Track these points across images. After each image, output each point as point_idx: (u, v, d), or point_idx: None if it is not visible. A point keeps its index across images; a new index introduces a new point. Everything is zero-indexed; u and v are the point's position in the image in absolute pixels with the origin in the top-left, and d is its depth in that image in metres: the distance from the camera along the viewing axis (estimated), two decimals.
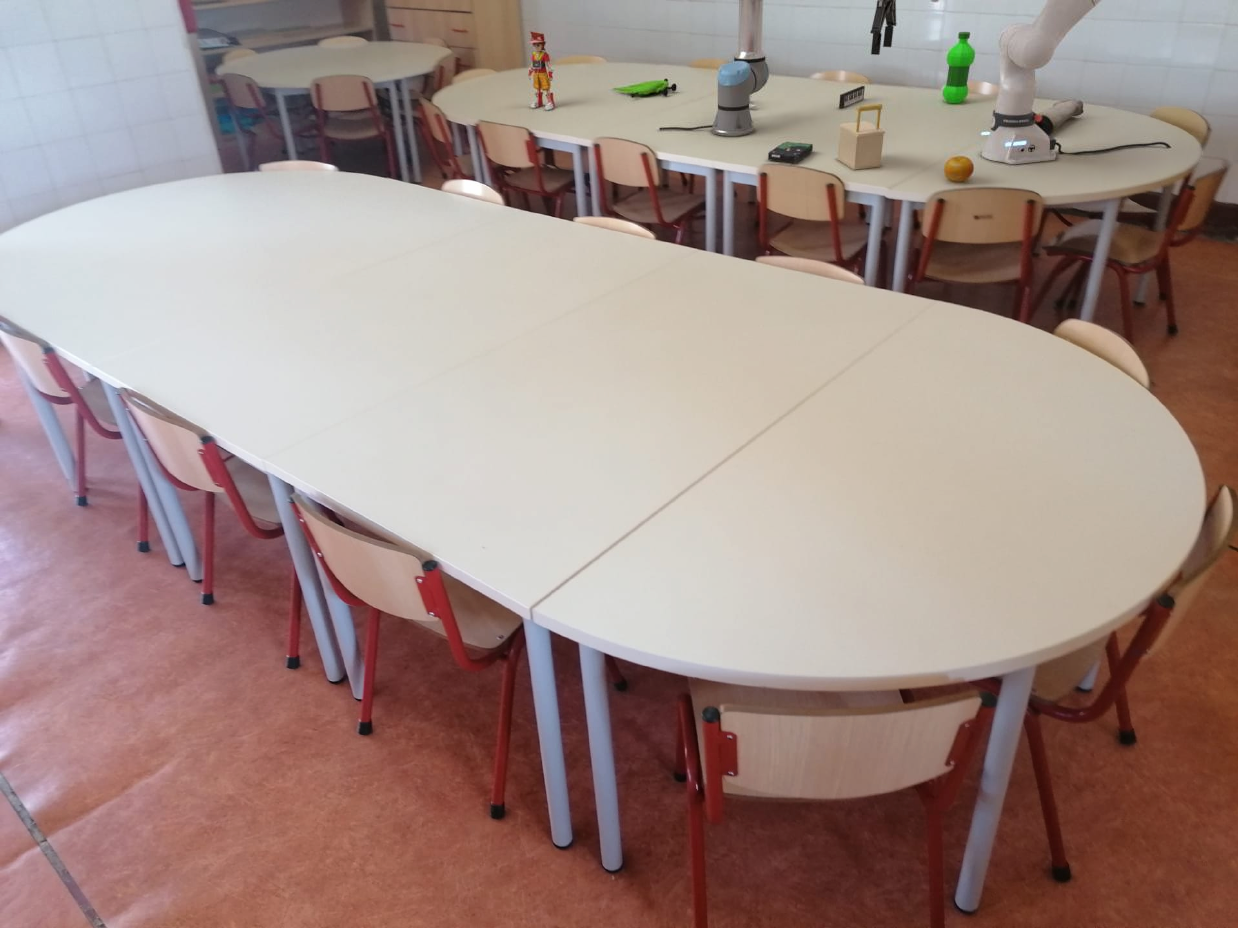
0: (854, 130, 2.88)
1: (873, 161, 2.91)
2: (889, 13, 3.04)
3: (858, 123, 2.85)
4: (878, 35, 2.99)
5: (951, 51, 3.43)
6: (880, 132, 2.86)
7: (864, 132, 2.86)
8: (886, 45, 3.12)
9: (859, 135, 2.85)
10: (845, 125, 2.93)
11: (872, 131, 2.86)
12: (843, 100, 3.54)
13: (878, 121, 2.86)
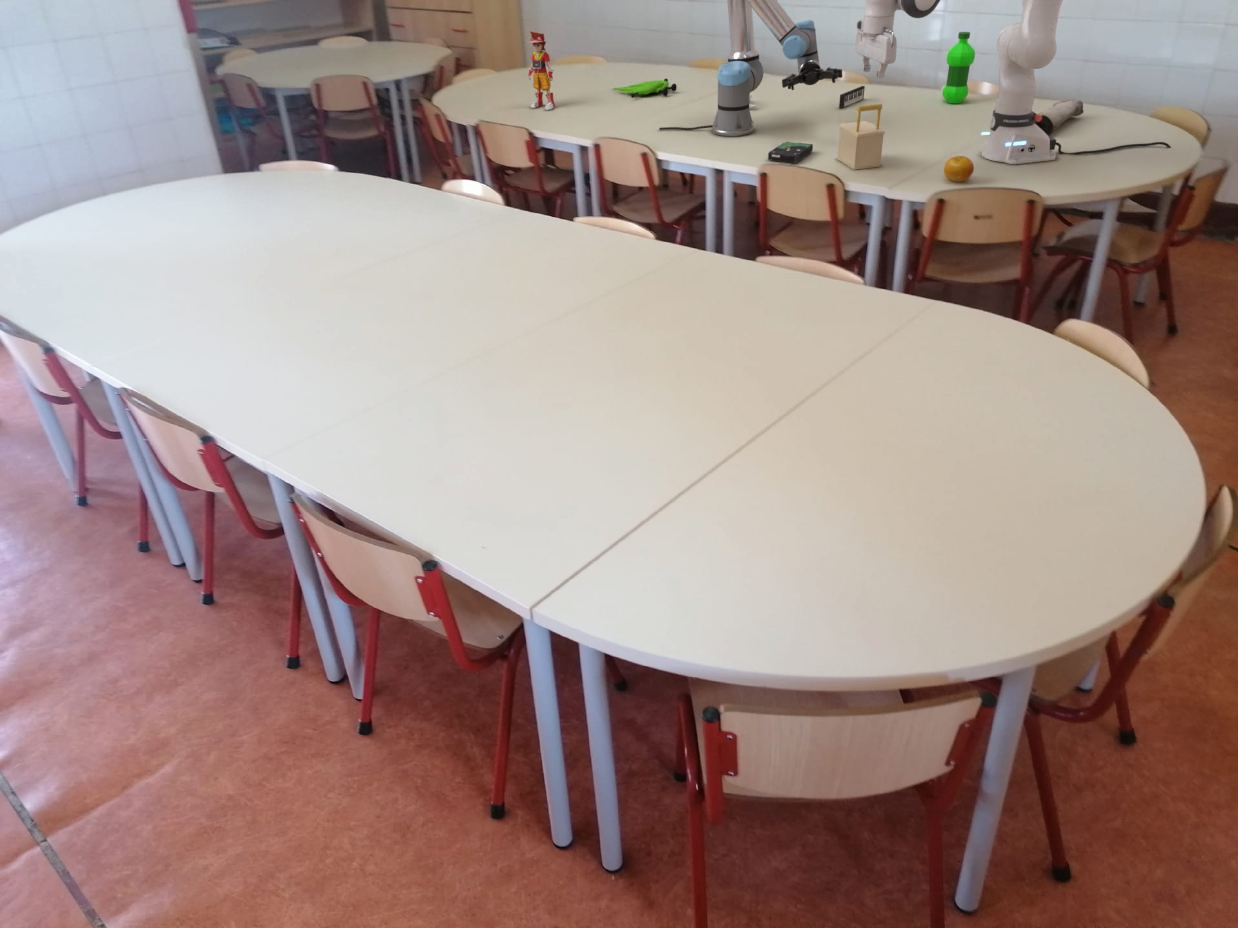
0: (854, 130, 2.88)
1: (873, 161, 2.91)
2: (800, 80, 3.11)
3: (858, 123, 2.85)
4: None
5: (951, 51, 3.43)
6: (880, 132, 2.86)
7: (864, 132, 2.86)
8: (793, 84, 3.02)
9: (859, 135, 2.85)
10: (845, 125, 2.93)
11: (872, 131, 2.86)
12: (843, 100, 3.54)
13: (878, 121, 2.86)
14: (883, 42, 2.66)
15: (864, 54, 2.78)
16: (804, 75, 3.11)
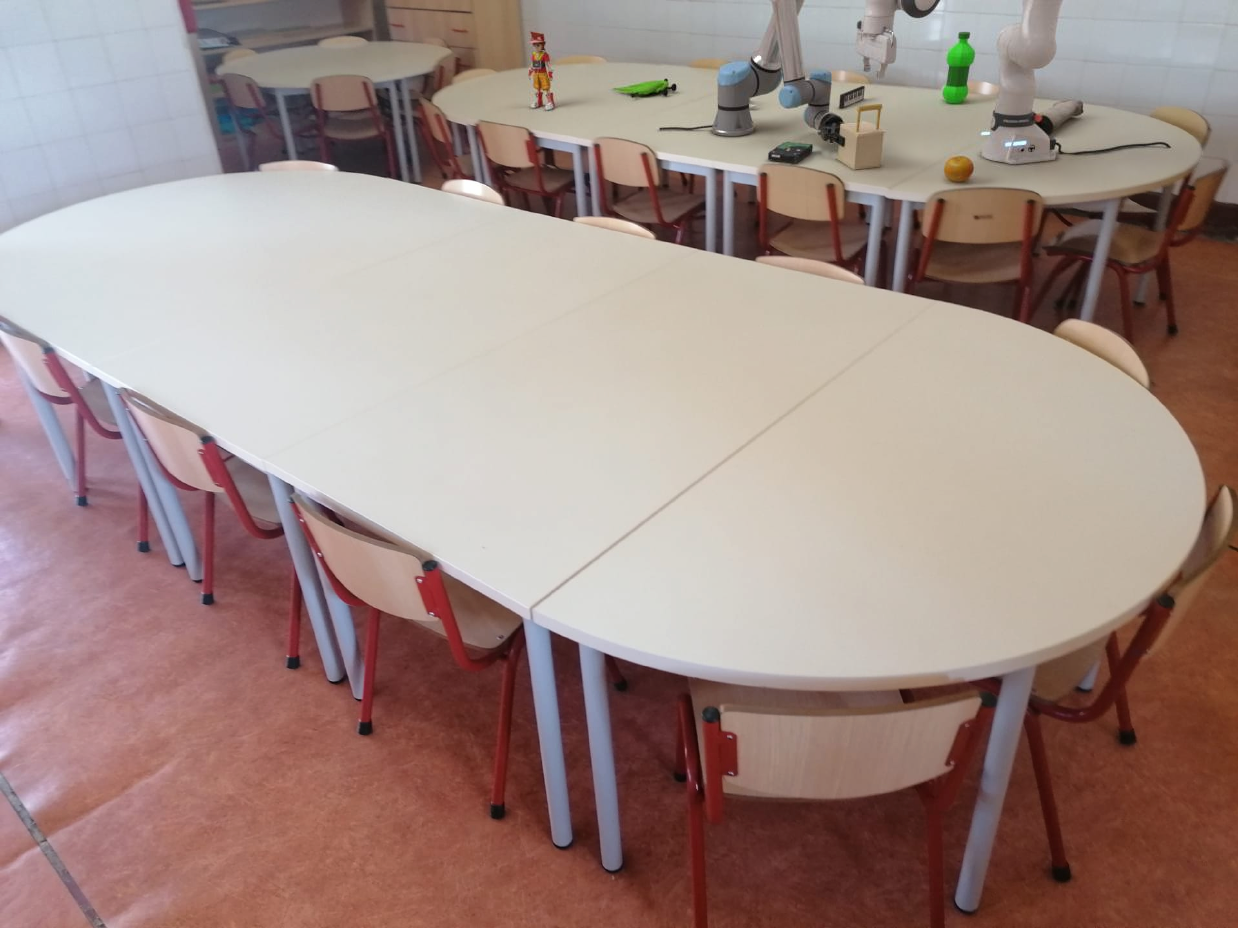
0: (854, 130, 2.88)
1: (873, 161, 2.91)
2: (834, 134, 3.04)
3: (858, 123, 2.85)
4: None
5: (951, 51, 3.43)
6: (880, 132, 2.86)
7: (864, 132, 2.86)
8: None
9: (859, 135, 2.85)
10: (845, 125, 2.93)
11: (872, 131, 2.86)
12: (843, 100, 3.54)
13: (878, 121, 2.86)
14: (883, 42, 2.66)
15: (864, 54, 2.78)
16: (835, 129, 3.05)
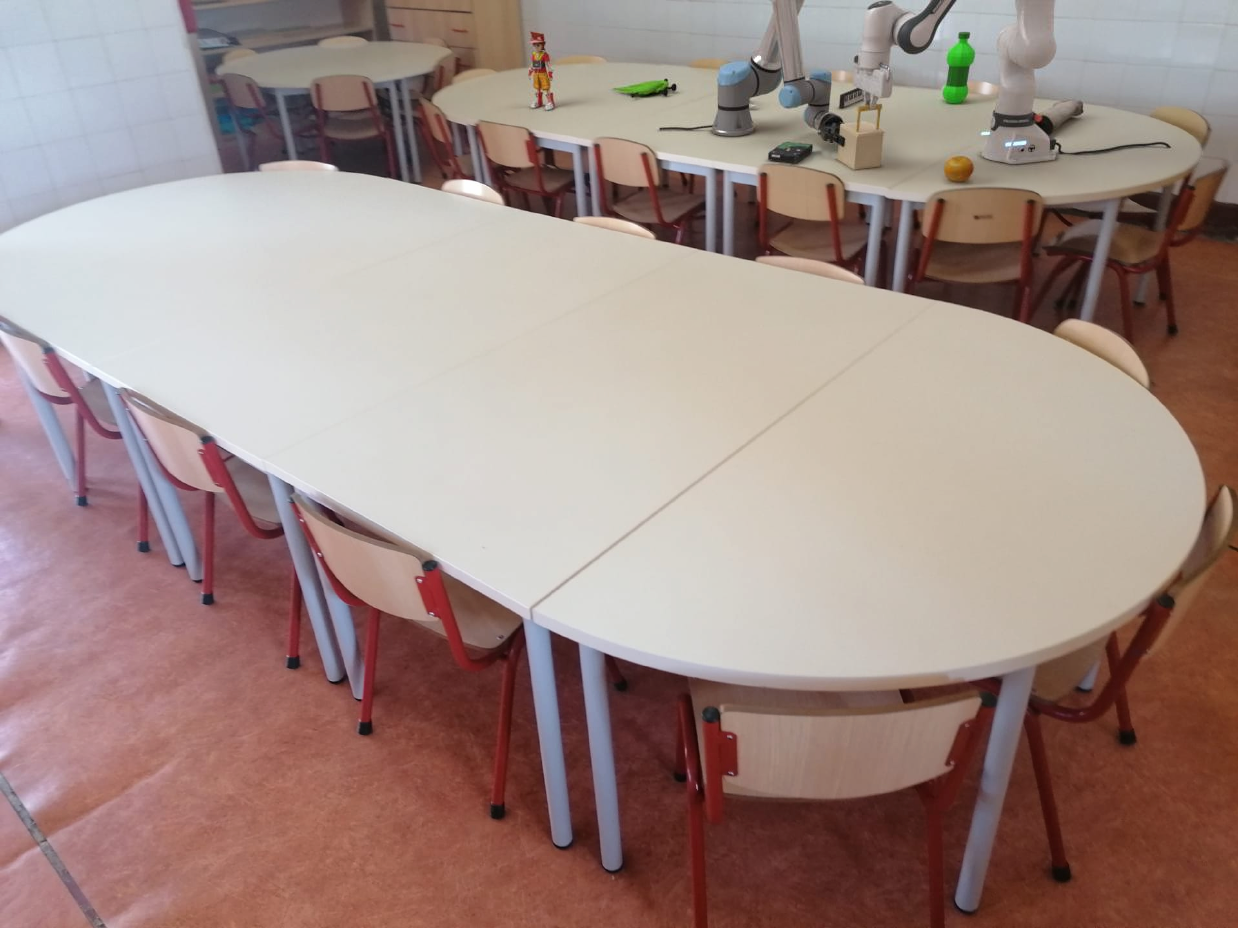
0: (854, 130, 2.88)
1: (873, 161, 2.91)
2: (834, 133, 3.04)
3: (858, 123, 2.85)
4: None
5: (951, 51, 3.43)
6: (880, 132, 2.86)
7: (864, 132, 2.86)
8: None
9: (859, 135, 2.85)
10: (845, 125, 2.93)
11: (872, 131, 2.86)
12: (843, 100, 3.54)
13: (878, 121, 2.86)
14: (879, 77, 2.71)
15: (861, 87, 2.83)
16: (835, 129, 3.05)
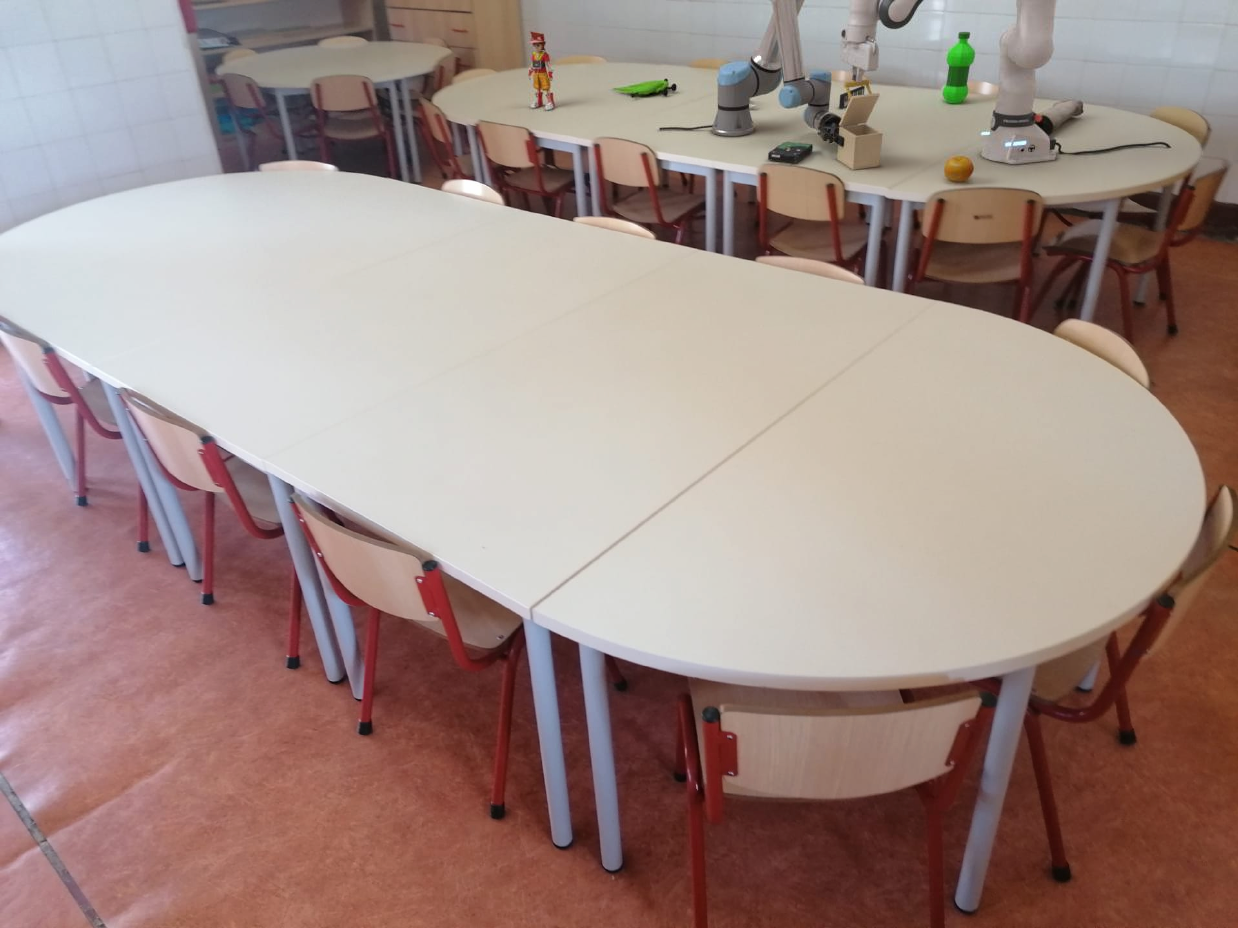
0: None
1: (872, 161, 2.91)
2: None
3: (850, 95, 2.87)
4: None
5: (951, 51, 3.43)
6: (874, 94, 2.84)
7: None
8: None
9: (853, 97, 2.83)
10: None
11: None
12: (843, 100, 3.54)
13: (870, 93, 2.87)
14: (865, 51, 2.76)
15: (848, 61, 2.88)
16: (834, 129, 3.05)
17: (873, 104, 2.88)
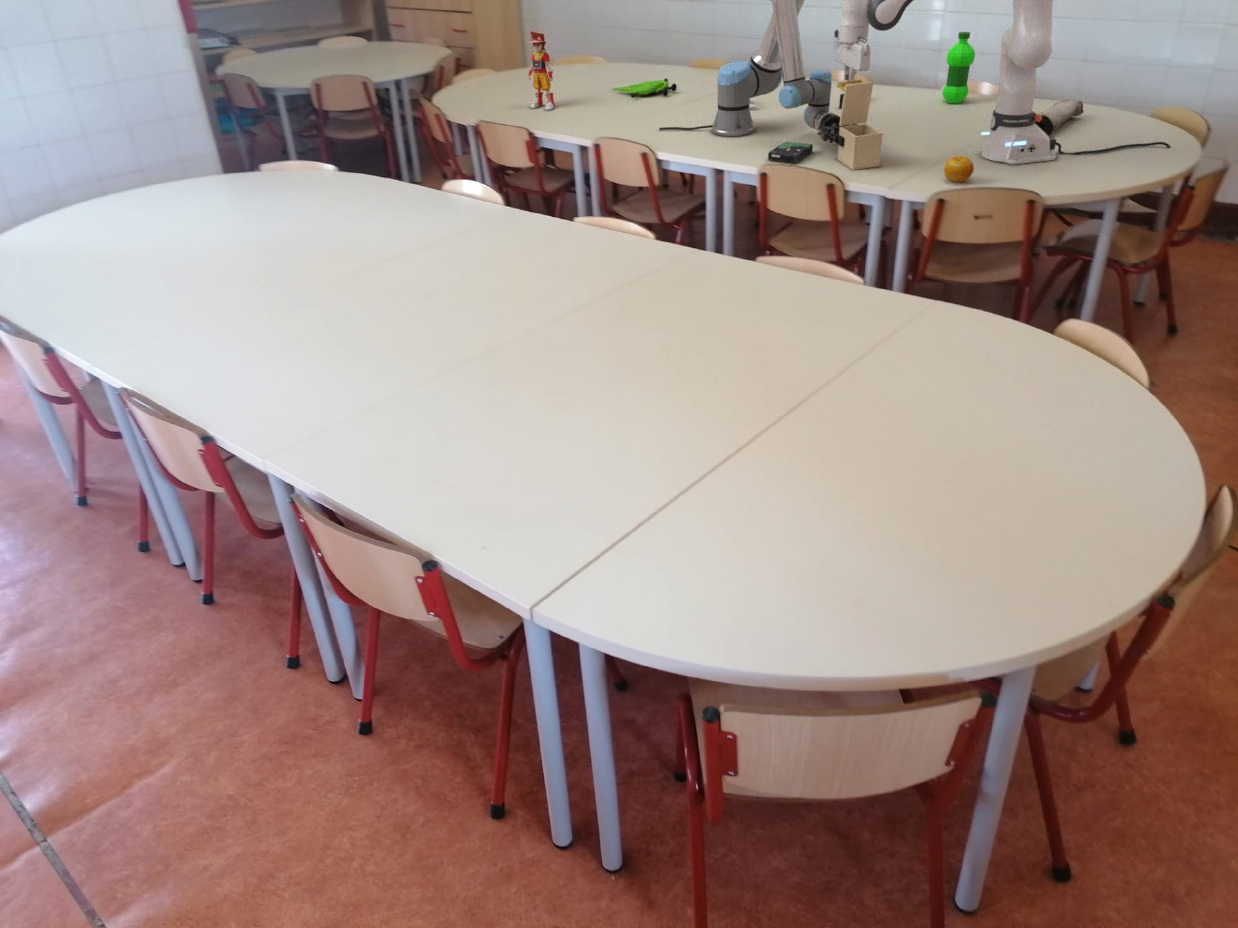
0: None
1: (872, 161, 2.91)
2: None
3: (844, 89, 2.90)
4: None
5: (951, 51, 3.43)
6: (868, 82, 2.87)
7: None
8: None
9: (847, 85, 2.86)
10: None
11: None
12: None
13: None
14: (857, 51, 2.81)
15: (841, 61, 2.93)
16: (835, 129, 3.05)
17: (869, 95, 2.90)
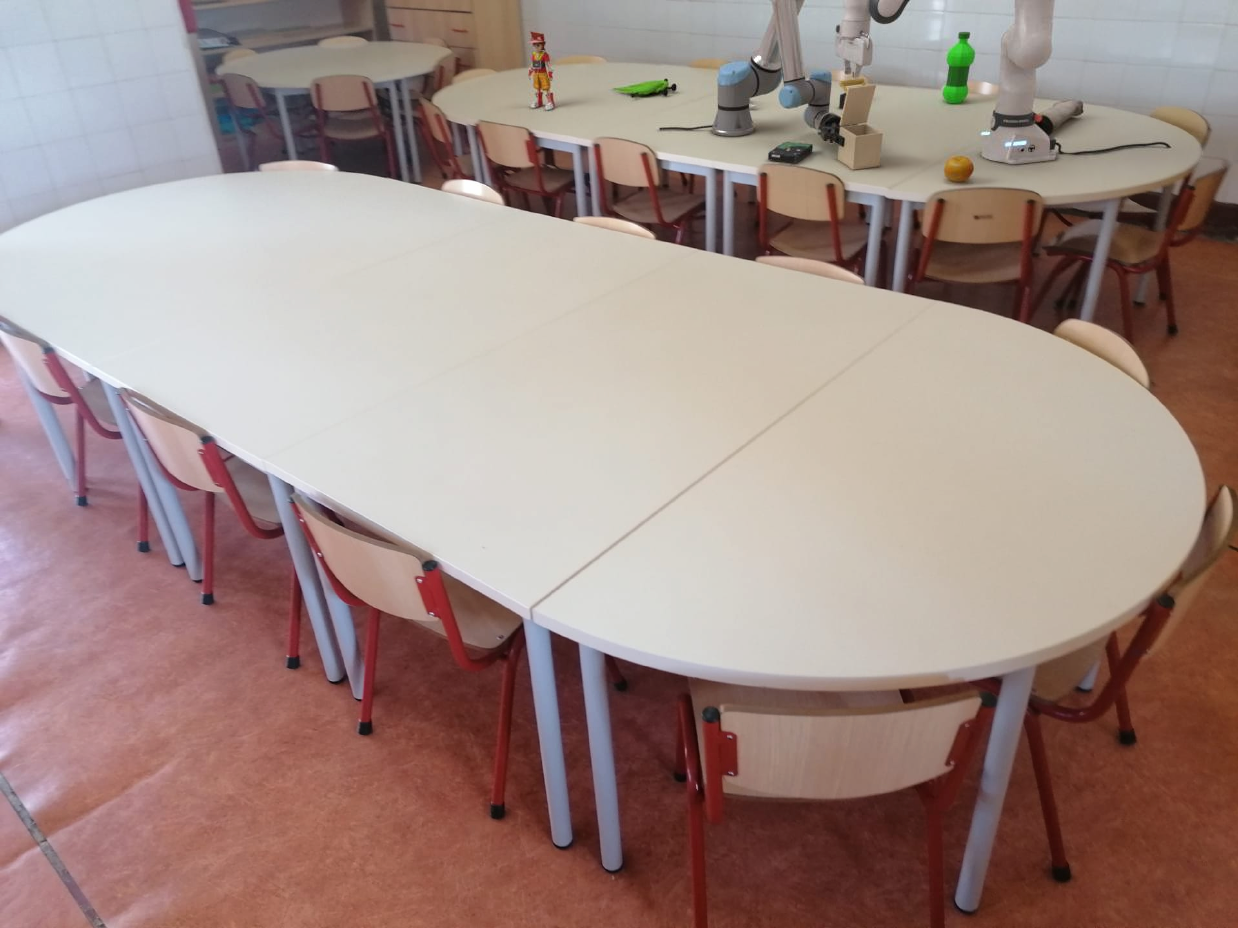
0: None
1: (872, 161, 2.91)
2: None
3: (846, 90, 2.89)
4: None
5: (951, 51, 3.43)
6: (870, 85, 2.86)
7: None
8: None
9: (849, 88, 2.85)
10: None
11: None
12: (843, 100, 3.54)
13: None
14: (859, 45, 2.79)
15: (843, 56, 2.91)
16: (835, 129, 3.05)
17: (871, 98, 2.89)
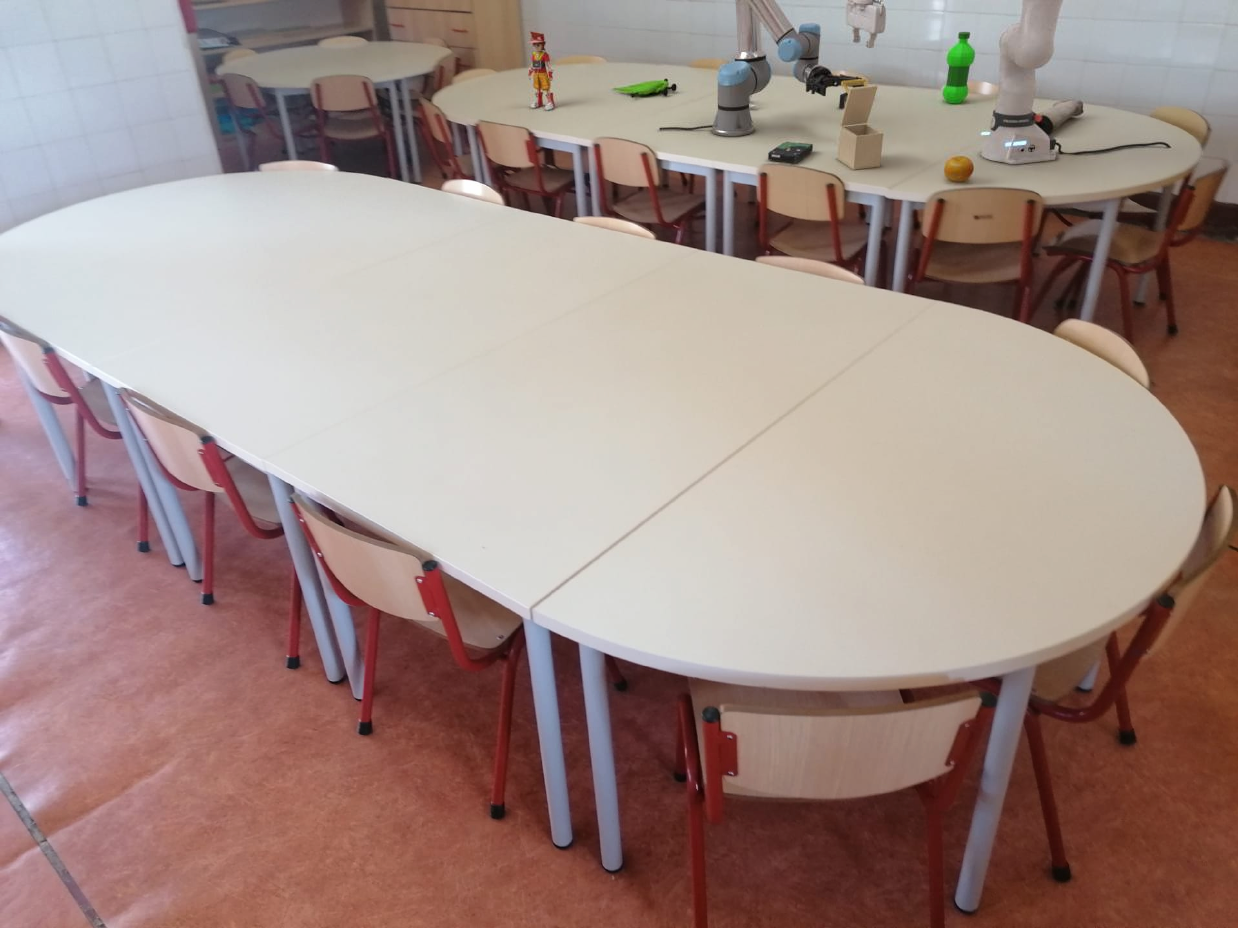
0: None
1: (873, 161, 2.91)
2: None
3: (848, 90, 2.89)
4: None
5: (951, 51, 3.43)
6: (872, 86, 2.86)
7: None
8: None
9: (851, 88, 2.85)
10: None
11: None
12: (843, 100, 3.54)
13: None
14: (872, 12, 2.69)
15: (854, 25, 2.80)
16: (822, 80, 3.08)
17: (872, 98, 2.89)
